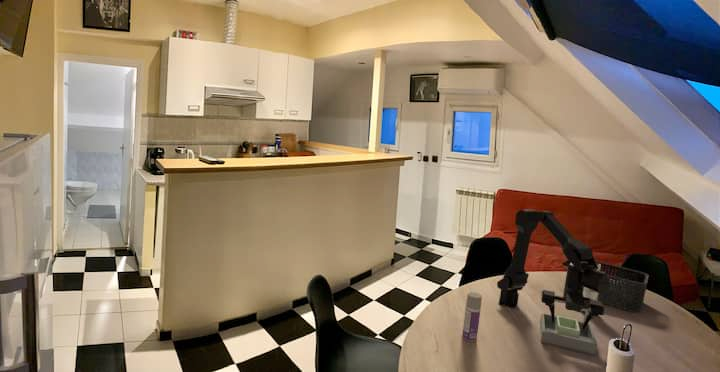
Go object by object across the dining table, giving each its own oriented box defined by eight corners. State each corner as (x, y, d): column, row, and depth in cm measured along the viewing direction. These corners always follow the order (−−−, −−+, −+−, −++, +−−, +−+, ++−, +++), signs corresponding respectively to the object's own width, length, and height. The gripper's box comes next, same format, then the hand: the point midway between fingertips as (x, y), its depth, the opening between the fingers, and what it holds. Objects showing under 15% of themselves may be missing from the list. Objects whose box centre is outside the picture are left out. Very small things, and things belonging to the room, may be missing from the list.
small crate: (555, 339, 138) (558, 325, 137) (554, 328, 146) (556, 315, 145) (577, 345, 135) (579, 331, 135) (575, 333, 144) (577, 320, 143)
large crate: (540, 342, 137) (542, 331, 136) (539, 322, 151) (541, 312, 151) (595, 356, 131) (597, 344, 130) (588, 334, 145) (590, 323, 145)
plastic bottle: (599, 316, 161) (608, 268, 158) (581, 314, 162) (589, 265, 159) (593, 310, 167) (601, 262, 164) (576, 307, 169) (583, 260, 166)
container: (477, 336, 137) (482, 293, 135) (476, 343, 133) (481, 299, 131) (462, 333, 139) (468, 291, 136) (461, 339, 134) (466, 296, 132)
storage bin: (643, 301, 182) (649, 272, 180) (640, 315, 166) (646, 283, 164) (572, 282, 199) (577, 256, 197) (564, 293, 183) (568, 264, 182)
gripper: (545, 283, 134) (538, 328, 136) (610, 296, 127) (602, 343, 129) (544, 273, 144) (538, 315, 147) (605, 285, 137) (597, 329, 140)
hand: (567, 325), depth 140 cm, fingers open, 9 cm apart
